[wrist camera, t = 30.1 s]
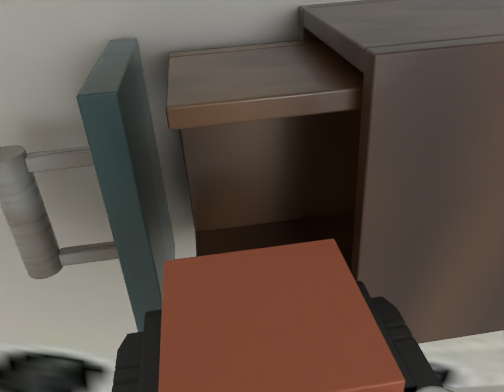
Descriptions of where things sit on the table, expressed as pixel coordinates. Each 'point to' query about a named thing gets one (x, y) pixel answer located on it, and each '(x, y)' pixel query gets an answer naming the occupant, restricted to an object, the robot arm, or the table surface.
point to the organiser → (427, 156)
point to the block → (271, 324)
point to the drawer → (203, 159)
